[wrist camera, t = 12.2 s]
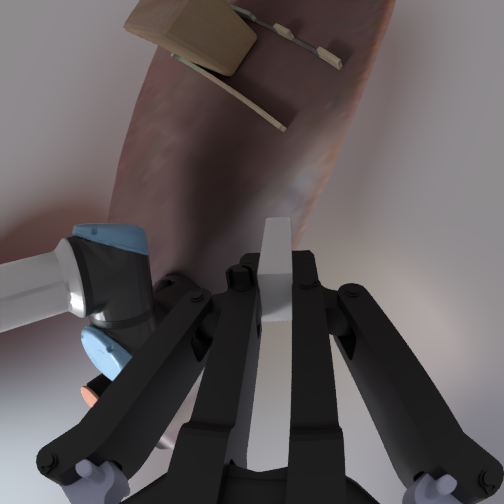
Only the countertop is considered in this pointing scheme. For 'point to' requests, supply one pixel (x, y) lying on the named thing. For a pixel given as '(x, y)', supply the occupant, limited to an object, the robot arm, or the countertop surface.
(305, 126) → the countertop surface
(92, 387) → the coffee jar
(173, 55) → the trap lane
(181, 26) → the wooden block
